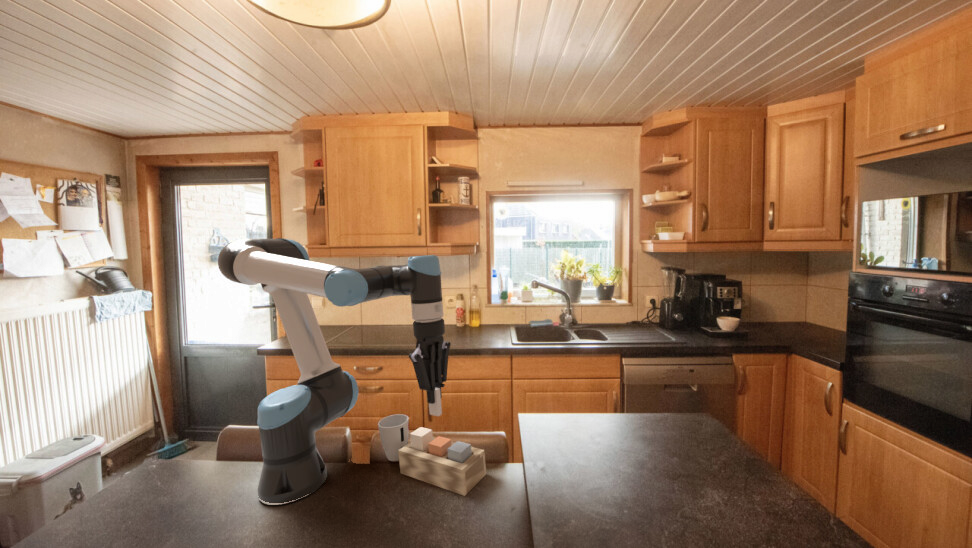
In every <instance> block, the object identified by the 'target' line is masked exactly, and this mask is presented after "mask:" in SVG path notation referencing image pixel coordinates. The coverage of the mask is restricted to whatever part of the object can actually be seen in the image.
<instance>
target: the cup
mask: <svg viewBox="0 0 972 548" xmlns="http://www.w3.org/2000/svg"><path fill="white" fill-rule="evenodd" d="M409 419H410V418H409V416H408V415H406V414H404V413H403V414H400V413H399V414H398V413H397V414H396V413H395V414H391V415H388V416H385V417H383V418H381V419H380V420H379V421H378V423H377V426H378V431H379V437H380V438H379V439H380V441H381V445H382V448H383V451H384V454H385V457H386V458H387V460H388V461H390V462H399V453H398V450H399V449H401V448H402V447H404V446H405V445H407V444H408V443H410V442H409V441H410V424H409V423H410V421H409Z"/></svg>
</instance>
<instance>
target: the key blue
mask: <svg viewBox="0 0 972 548" xmlns="http://www.w3.org/2000/svg"><path fill="white" fill-rule="evenodd" d="M471 447H472V444H470V443H467V442H463V441H460V440H457V441H456V442H455V443H454V444H453V445H452V446H450V447H449V448H448V449H447V450H448V460H452V461H455V462H458V463H464V462H465V461H466V460H467V459H468V458H469V457H470V456H472V451H471Z"/></svg>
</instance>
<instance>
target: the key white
mask: <svg viewBox="0 0 972 548" xmlns="http://www.w3.org/2000/svg"><path fill="white" fill-rule="evenodd" d="M433 437H434V435H433V429H431V428H426V427H422V426H420V427H418V428H417V429H415V430H414V431H412V432H409V441H410V442H411V449H414V450H418V451H421V452H424V451H425V450H427V449H428V448H429V447H428V443H430V442H431V441H432V440H433Z"/></svg>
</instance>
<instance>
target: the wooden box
mask: <svg viewBox="0 0 972 548" xmlns="http://www.w3.org/2000/svg"><path fill="white" fill-rule="evenodd" d="M435 438H437V437H435V436H433V440H434V439H435ZM451 443H452V445H453V444H454V443H456V442H455V441H451ZM471 451H472V456H470V457H469V458H468V459H467V460H466V461H465V462H464V463H458V462H455V461H452V460H448V453H447V454H446V455H445V456H443V457H442V458H441V457H438V456H435V455H431V454H429V448H428V449H427V450H425V451H424V452H421V451H418V450H414V449H411V441H410V442H408V444H407V445H405V446H404V447H402V448H401V449H399V450H398V453H399V460H398V462H399V469H400V472H399V473H400V475H404V476H407V477H410V478H413V479H415V480H418V481H421V482H425V483H427V484H430V485H433V486H434V487H435V486H436V487H439V488H441V489H444V490H446V491H449V492H452V493H455V494H458V495H461V496H463V497H465V496H466V495H468V493H469V492H470V491H471V490H472V489H473V488H474V487H475V486H476V485H477V484H478V483H479V482H480V481H481V480H482V479H483V478H484V477H485V476H486V475H487V466H486V453H485V449H482V448H479V447H475V446H471Z"/></svg>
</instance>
